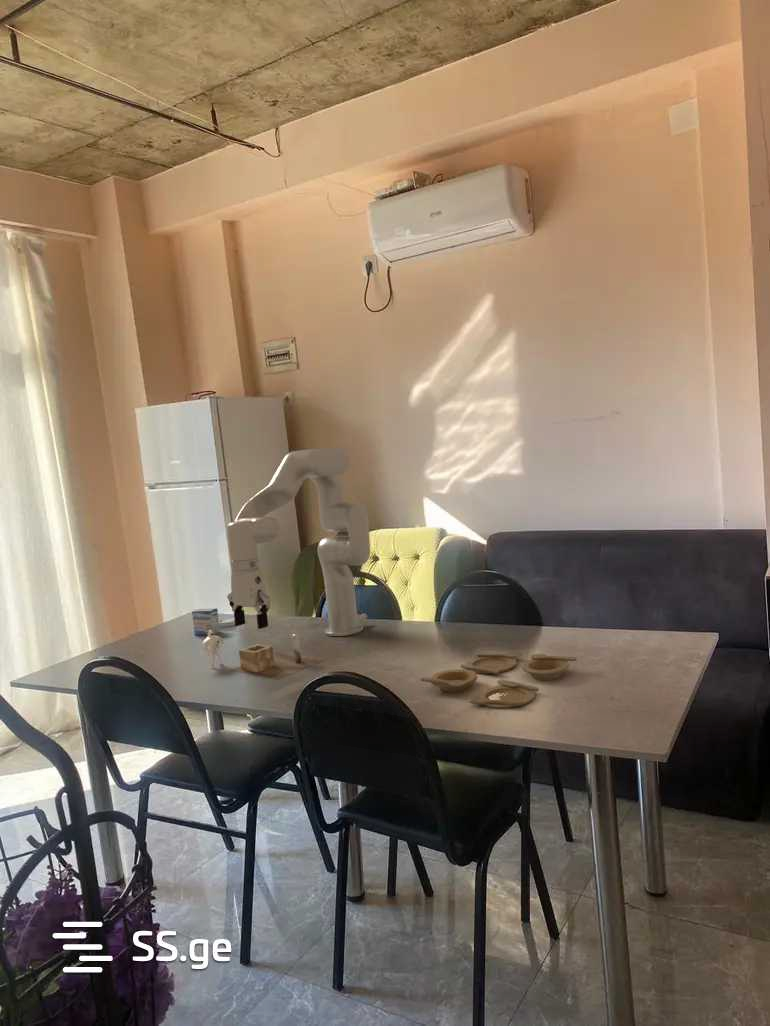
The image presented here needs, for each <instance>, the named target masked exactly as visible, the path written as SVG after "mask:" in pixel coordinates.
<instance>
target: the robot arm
mask: <svg viewBox="0 0 770 1026" xmlns="http://www.w3.org/2000/svg"><path fill="white" fill-rule="evenodd" d="M350 467H351V457H350V454H349V453H348V452H347V450H345V449H344V448H342V447H336V448H333V447H332V448H313V449H301V450H294V451H291V452H289V453H287V454H286V455H284V458H283V459H282V461H281V463H280V464H279V466H278V468H277V470H276V471H275V473H274V475H273V477H272V478H271V480H270V482H269V483H268V485H267V486H266V487H264V488H263V489H262V490H260V491H259V492H258V493H256V494H255V495H254V496H252V498H250V499H249V500H248V501H247V502H246V503H245V504H244V505H243V506H242V507H241V508H240V509H241V510H240V511H239V513H238V514H237V516H236V518H235V520H234V521H232V522H230V523H228V524H227V527H226V528H227V529H226V530H227V539H228V549H229V557H230V568H231V572H230V573H231V575H230V589H231V590H230V591H231V592H230V593H228V594H227V596H226V598H227V600H228V602H229V605H230V607H231V611H232V612H233V617H234V625H235V627H238V626H242V625H245V624H246V618H245V617H246V615H245V610H244V609H243V607H244V608H247V607H248V608H254V609H255V611H256V613H257V614H256V623H257V624H256V625H257V629H259V630H261V629H265V628H268V626H269V621H268V612H269V609H270V608H271V605H270V604H271V601H272V598H271V597H270V596H269V595H268V594H267V589H266V584H265V579H264V575H263V571H262V570H261V569H260V563H259V554H258V544H271V543H273V542H275V541H277V540H278V539H279V537H280V535H281V532H282V526H281V524H280V522H279V521H278V520H277V519H276V518H274V517H271V516H268V514H270V513H271V512H274V511H276V510H278V509H281V508H283V507H285V506H287V505H289V504H290V503H292V502H293V501H294V499H295V498H296V495H298V492H299V491H300V488H301V486H302V485H303V483H304V481H305V480H306V479H307V478H308V479H310V480H311V481H312V483H313V484H314V485H315V487H316V491H317V497H318V498H317V499H318V510H319V511H318V512H319V521H320V525H321V526H320V527H321V528H322V529H323V530H324V531H326V532H330V533H334V532H341V533H342V532H347V533H348V535H331V536H326V537H323V538H322V539H321V540H320V541H319V543H318V545H317V556H318V559H319V564H320V565H321V571H322V575H323V582H324V589H325V600H326V607H327V608H326V609H327V617H328V624H329V625H328V627H326V628H325V629H324V633H325V635H327V636H329V637H330V636H331V637H344V636H345V637H346V636H352V635H355V634H359V633H361V632H362V631H363V630H364V625H363V624H362V623H361V622H362V621H364V620H366V619H368V615H367V614H366V613H361V614H358V609H357V601H356V593H355V591H356V590H355V581H354V576H353V573H352V570H351V569H350V567H349V566H363V565H364V564H366V563H367V562H368V560H369V559H370V554H371V540H370V526H369V515H368V512H367V509H366V508H365V506H364V505H363V504H362V502H358V501H346V498H345V497H346V496H345V488H344V484H343V482H342V480H341V479H340V477H339V476H343V475H344V474H346V473H347V472H349V470H350ZM266 515H267V516H266Z"/></svg>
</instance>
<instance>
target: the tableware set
mask: <svg viewBox="0 0 770 1026" xmlns="http://www.w3.org/2000/svg"><path fill="white" fill-rule="evenodd" d="M522 654H523V653H522V652H509V653H491V652H490V653H489V652H477V653H476V654H475V656H476V657H474V658H471V659H468V660H467V661H466V662H465V663H462V664H460V669H457V668H455V669H454V668H453V669H446V670H442V671H439V672H436V673H434V674H433V675H431V676H430V677H427V676H423V677H420V681H421V682H424V683H430V684H431V685H433V686H435V687H439V689H440V690H441V691H443V692H446V691H448V693H456V692H462V691H465V690H467V689H468V688H469V686H470V685H471V684H473V683H474V682H476V681H477V680H478V674H485V675H489V674H496V675H498V674H500V673H504V672H507V671H510V670H512V669H514V668H516V666H517V659H518V658H520V657H521V656H522ZM529 657H530V660H527V661H525V662H523V663H522V664H521V670H522V671H523V672H525V673H526V674H530V676H531V678H533V679H534V680H539V681H551V680H552V679H553V680H556V679H558V678H560V677H561V674H562V673H563V672H564V671H566V670H568V669H569V667H570V663H569V662H575V661H577V660H578V657H577V656H569V655H568V656H561V655H546V654H543V653H535V654H532V655H530V656H529ZM516 658H517V659H516ZM559 676H560V677H559ZM555 678H556V679H555ZM496 683H497V684H498V685H496V686H492V687H491V686H490V687H488V688H485V689H482V690H481V691H480V692H479V693H477V694H476V697H472V698H471V700H470V701H469V704H474V705H482V706H485V707H488V708H494V709H507V708H517V707H520V706H524V705H527V704H529V703H530V702H532V701H533V700H534V699H535V697H536V693H535V692H539V691H540V688H539V687H538V686H534V685H529V684H526V683H525V684H524V683H521V682H515V681H511V680H506V679H502V678H501V679H498V680H497V681H496ZM496 693H499V694H500V693H501V694H503V693H504V694H503V695H502V696H500V697H499V699H500V698H501V699H500V700H490V699H489V698H488V697H489V696H491V695H493V694H496ZM506 693H507V694H506ZM501 694H500V695H501ZM505 694H506V695H505ZM504 695H505V696H504Z"/></svg>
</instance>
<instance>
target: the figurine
mask: <svg viewBox="0 0 770 1026" xmlns="http://www.w3.org/2000/svg"><path fill="white" fill-rule="evenodd" d="M223 645H224V639H223V638H222V637H220V636H219V635H216V634H215V635H214V633H213V631H212V630H209V632H208V635H207V636H206V638H205V639H204V640H203V642H201V649H202V650H203V651H205V652H207V655H206V657H207V658H208V656H209V659H210V661H209V664H210V665H209V669H213V668H214V661H215V657H216V659H217V661H218V664H219V666H221V665H223V662H222V658H221V653H222V650H220V649H221V647H222V646H223Z"/></svg>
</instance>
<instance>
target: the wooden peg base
mask: <svg viewBox="0 0 770 1026" xmlns="http://www.w3.org/2000/svg"><path fill="white" fill-rule="evenodd" d="M291 639H292V645H293V653H286V652H280V651H277V652H275V653H274V652H273V655H274V663H275V665H274V666H272V667H269V668H267V669H264V670H262V671H259V672H252V671H246V670H241V665H240V666H239V667H236V668H232V669H230V671H233V672H237V673H240V674H241V673H242V674H246V675H247V674H248V675H253V676H257V677H263V678H268V679H272V680H273V679H274V680H281V679H284V678H285V677H288V676H291V675H292V674H295V673H299V672H300V671H302V670H305V669H307V668H310V667H312V666H314V665H317V664H319V663H321V662H324V661H326V659H325V658H324V659H323V658H318V657H311V656H305V655H302V654H301V653H302V651H301V646H300V645H301V644H300V636H299V633H293V634H291Z"/></svg>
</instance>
